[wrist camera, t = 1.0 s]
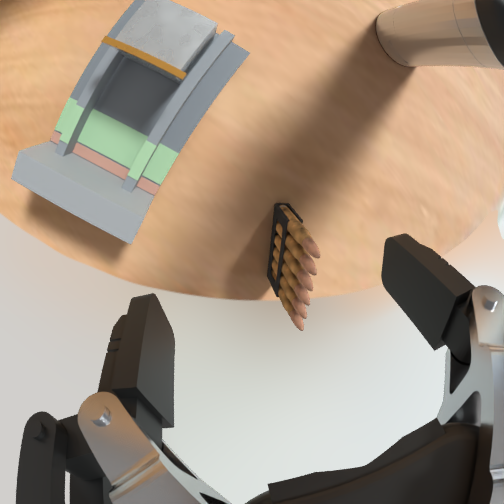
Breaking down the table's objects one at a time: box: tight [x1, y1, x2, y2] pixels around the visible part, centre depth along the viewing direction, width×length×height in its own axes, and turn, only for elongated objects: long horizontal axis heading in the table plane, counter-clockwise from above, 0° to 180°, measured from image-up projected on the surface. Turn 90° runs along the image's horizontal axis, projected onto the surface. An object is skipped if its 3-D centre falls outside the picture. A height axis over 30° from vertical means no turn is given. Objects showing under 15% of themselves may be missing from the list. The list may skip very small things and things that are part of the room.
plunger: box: [102, 0, 218, 84], centre depth 18 cm, size 6×8×7 cm
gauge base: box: [11, 0, 250, 244], centre depth 21 cm, size 22×15×8 cm
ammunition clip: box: [267, 203, 320, 331], centre depth 31 cm, size 11×2×12 cm, turn 176°
